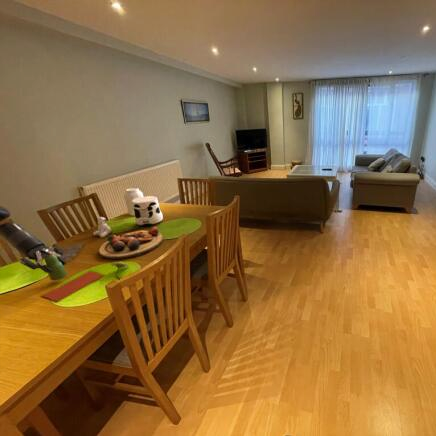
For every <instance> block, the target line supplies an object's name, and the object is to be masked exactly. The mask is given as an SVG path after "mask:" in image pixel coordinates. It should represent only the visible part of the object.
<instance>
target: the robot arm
mask: <svg viewBox="0 0 436 436" xmlns="http://www.w3.org/2000/svg"><path fill="white" fill-rule="evenodd" d="M10 216H11V211H10V210H9V209H8V208H6V207H5V206H3V205H0V237H1V238H2V239H4V240H5V241H6V242H7V243H8V244H9V245H10V246H11V247H13V248H14V249H15V250H17V251H18V252H19V253H21V254H22V255H23V256H25V257H22V258H21V260H20V262H19V263H20V264H21V265H23V266H26V267H27V268H29V269H31V270H34V271H35V270H37V269H40V270H41V271H43V272H44V273H46V274H48V273H50V272H51V271H52V269H50V268H49V267H48V266H46V265H47V264H44V262H43V261H44V260H45V257H46V256H48V254H47V253H50V255H55V256H57V258H58V261H60V262H61V263H62V264H63V266H65V265H67V260H66V258H62V256H64V255H63V253H64V254H65V251H64V250H61V249H62V248H60V247H59V245H58V244H56V243H54V244H53V245H50V246H47V245H46V244H45V243H44V242H43V241H41V240H40V239H39V238H38V237H36V236H35V235H34V234H32V233H31V232H29V231H28V230H26V229H25V227H22V226H21V225H20V224H19V223H17V222H15V221H7V222H5V223H2V222H4V221H6V220H8V219H9V218H10ZM63 251H64V252H63ZM31 260H32V261H31Z"/></svg>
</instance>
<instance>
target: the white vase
mask: <svg viewBox="0 0 436 436" xmlns="http://www.w3.org/2000/svg"><path fill="white" fill-rule="evenodd" d="M139 197H144V193H143V192H142V191H141V190H140V189H139V188H138V187H131V188H127V189H126V190H125V193H124V194H123V198H124V202H125V205H126V208H127V212H128V215H129V216H132V217H135V212H134V209H133V205H132V200H134V199H136V198H139Z"/></svg>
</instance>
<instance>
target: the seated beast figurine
mask: <svg viewBox="0 0 436 436" xmlns="http://www.w3.org/2000/svg"><path fill="white" fill-rule="evenodd" d="M106 222H107V218H106V217H104V216H98V218H97V225H98V226H97V228H98V230H96V231H94V232H92V233H93V234H92V235H93V236H99V237H100V238H101V239H103V238H105V237H106V236H109V234H110V233H111V232H112V228H111V227H110V226H109V225H108V224H107V223H106Z"/></svg>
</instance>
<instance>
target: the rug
mask: <svg viewBox="0 0 436 436" xmlns="http://www.w3.org/2000/svg"><path fill="white" fill-rule="evenodd" d="M83 245H84V243H81V244H77V243H76V244H73V245H70V246H68V245H67V246H63V247H62V248H60V249H61V250H62V251H63V252H64V253H63V255H62V256H61V257H62V258H64V259H65V260H66V261H71V260H74V257H76V256H77V254H78V253H79V252H80V250H81V248H82V247H83ZM67 250H68V251H67Z"/></svg>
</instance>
